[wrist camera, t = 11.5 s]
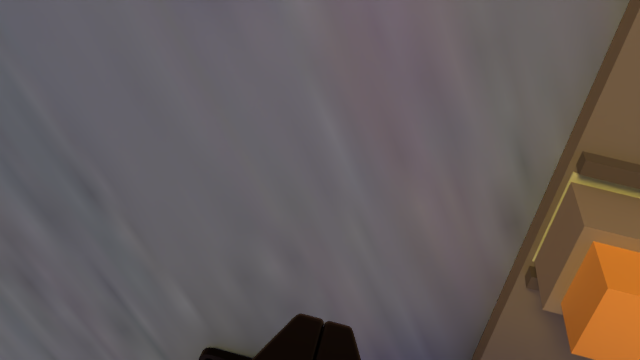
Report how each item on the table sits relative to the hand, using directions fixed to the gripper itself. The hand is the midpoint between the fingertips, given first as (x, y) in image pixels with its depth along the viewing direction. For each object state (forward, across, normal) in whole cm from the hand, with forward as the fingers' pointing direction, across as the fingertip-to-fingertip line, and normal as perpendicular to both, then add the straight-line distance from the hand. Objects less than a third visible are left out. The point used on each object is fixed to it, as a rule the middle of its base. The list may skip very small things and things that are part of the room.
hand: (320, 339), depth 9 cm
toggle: (+11, -7, +4) cm, 14 cm away
